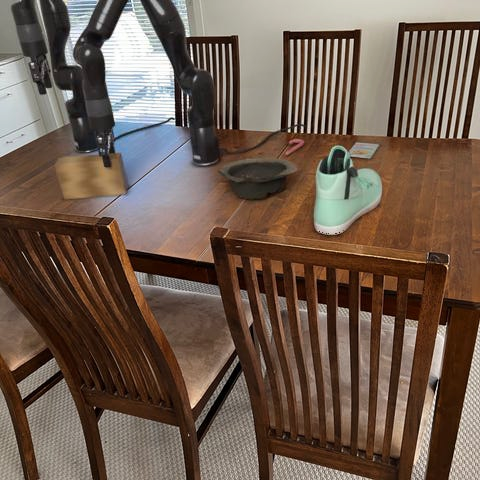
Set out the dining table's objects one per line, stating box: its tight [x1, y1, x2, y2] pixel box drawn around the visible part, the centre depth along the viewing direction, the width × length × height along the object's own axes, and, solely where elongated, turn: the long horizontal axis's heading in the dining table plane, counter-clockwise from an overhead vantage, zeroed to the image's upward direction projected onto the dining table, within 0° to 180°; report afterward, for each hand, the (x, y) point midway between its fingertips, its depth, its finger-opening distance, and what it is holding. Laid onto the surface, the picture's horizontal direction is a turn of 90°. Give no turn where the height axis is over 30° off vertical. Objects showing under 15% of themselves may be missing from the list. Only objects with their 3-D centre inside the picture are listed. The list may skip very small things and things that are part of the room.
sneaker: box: [313, 145, 383, 236], centre depth 133 cm, size 14×35×20 cm, turn 152°
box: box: [54, 151, 129, 200], centre depth 157 cm, size 20×6×12 cm, turn 93°
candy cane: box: [284, 138, 305, 156], centre depth 182 cm, size 6×15×2 cm, turn 145°
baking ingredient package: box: [347, 141, 380, 159], centre depth 175 cm, size 9×1×15 cm
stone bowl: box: [217, 157, 299, 201], centre depth 152 cm, size 25×25×9 cm
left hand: (46, 91), depth 159 cm, fingers open, 8 cm apart
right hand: (110, 162), depth 155 cm, fingers open, 8 cm apart
